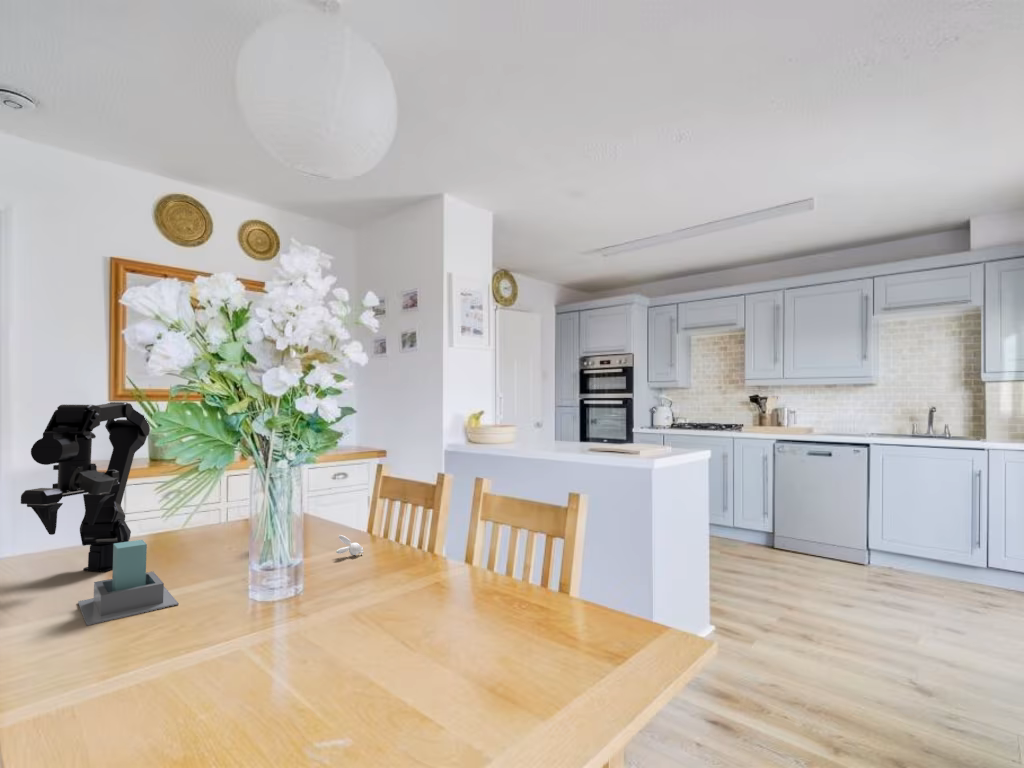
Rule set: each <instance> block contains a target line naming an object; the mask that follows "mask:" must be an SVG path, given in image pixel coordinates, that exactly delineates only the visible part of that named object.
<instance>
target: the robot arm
mask: <svg viewBox="0 0 1024 768" xmlns="http://www.w3.org/2000/svg"><path fill="white" fill-rule="evenodd" d="M56 408H57V409H56V410H54V411H53V413H52V416H51V417H50V419H49V421H48V423H47V425H46V427H45V429H44V431H43V432H42V437H41V438H39V439H38V440H37V441H35V442H34V443H33V445H32V447H31V449H30V455H31V457H32V459H33V461H34V462H36V463H37V464H40V465H43V466H49V465H53V464H54V465H53V466H52V467H53V468H52V470H53V471H57V483H52V488H51V487H39V488H38V487H37V488H32V489H26V490H24V491H23V492H22V493H21V495H20V505H26V508H31V509H32V510H33V511H34V513H35V514H36V516H38V518H39V520H40V522H41V523H42V525H43V526H44V528H45V530H46V531H47V533H48V534H49V536H50V535H51V536H53V535H55V534H56V531H57V521H58V510H59V509H60V507H61V506H62V505H63V504H64V503H63V502H60V501H61V500H62V498H65V497H71V496H77V495H81V494H82V496H83V497H82V498H83V502H84V516H83V518H82V520H81V523H80V525H79V534H80V539H81V545H82V546H84V547H85V546H89V552H88V554H87V555H88V556H87V557H88V558H87V559H88V560H87V566H85V567H83V571H90V572H91V571H92V572H108V571H111V570H112V571H113V544H114V543H121V542H128V541H130V539H131V533H132V531H131V529H130V528H129V526H128V524H127V522H126V514H125V512H124V509H123V508H122V501H123V498H124V493H125V490H126V486H127V483H128V480H129V479H128V478H129V476H130V471H131V468H132V464H133V462H134V457H135V453H136V452H137V451H139V450H140V449H141V448H142V447H143V446H144V445H145V443H146V440H147V438H148V436H149V435H150V430H151V428H150V427H151V426H150V424H149V422H148V421H146V420H147V419H146V420H145V418H146V417H145V418H144V416H145V415H143V414H142V413H141V412H139V411H138V410H136V409H135V408H134V407H133V406H132V403H129V402H125V401H124V402H121V401H119V402H115V401H110V402H108V403H104V404H103V403H102V404H97V405H96V404H60V405H58V406H57V407H56ZM120 418H121V419H120ZM123 418H124V419H123ZM125 418H126V419H125ZM101 422H106V423H105V426H104V427H105V429H106V430H107V433H108V434H109V436H108V439H109V442H110V444H111V446H112V452H111V456H110V458H109V462H108V466H107V469H106V471H98V470H97V468H98V467H97V465H96V464H97V463H92V447H93V446H92V444H93V443H92V442H93V440H92V439H96V434H95V433H94V432H93V431H94V430H95V428H98V427H99V426H100V425H101ZM147 422H148V423H147Z"/></svg>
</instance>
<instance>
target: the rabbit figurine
mask: <svg viewBox="0 0 1024 768" xmlns="http://www.w3.org/2000/svg"><path fill="white" fill-rule="evenodd" d="M338 539H339V540H340V541H341V543H343V544H344V545H347V546H343V547H340V548H338V549H337V550H336V554H340V555H341V554H345V553H347V552H348V553H349V555H351V556H352V555H355V556H356V554H357V555H358V554H361V553H363V552H364V548H363V546H361V544H359V543H358V542H352V540H351V539H349V538H348V537H347V536H345V535H342V534H338ZM363 554H364V553H363Z"/></svg>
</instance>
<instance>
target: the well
mask: <svg viewBox="0 0 1024 768" xmlns="http://www.w3.org/2000/svg"><path fill="white" fill-rule="evenodd" d="M164 585H165V584H164V582H163V581H162V579H161V578H160V577H159V576H158V574H157V573H155V572H154V571H149V572H147V571H146V585H144V586H139V587H133V588H128V589H123V590H118V591H113V592H112V578H110V579H109V578H108V579H105V580H98V581H94V582H93V598H86V599H83V600H78V602H77V604H78V606H79V609H80V613H81V614H82V617H83V620H84V621H85V625H86V626H90V625H95V624H100V623H105V622H110V621H113V619H114V620H116V619H122V618H127V617H132V616H135V615H140V613H141V614H145V613H149V611H150V612H154V611H157V609H159V610H162V608H163V609H166V608H165V607H168V608H170V607H169V606H172V607H175V606H174V605H177V606H179V605H178V604H179V601H177V600H176V599H175V597H174V595H173V594H171V592H170V591H169V590H168V589H167V588H166V586H164ZM153 610H154V611H153ZM144 612H145V613H144ZM104 621H105V622H104Z"/></svg>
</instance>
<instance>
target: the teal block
mask: <svg viewBox="0 0 1024 768" xmlns="http://www.w3.org/2000/svg"><path fill="white" fill-rule="evenodd" d="M147 546H148V544H147V543H146V542H145V541H144V539H137V540H135V539H134V540H129V541H128V542H121V543H114V544H113V569H112V573H111V574H112V578H111V579H112V592H113V591H118V590H123V589H128V588H133V587H139V586H144V585H146V573H147V554H148V553H147V551H148V550H147V548H148V547H147Z"/></svg>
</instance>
